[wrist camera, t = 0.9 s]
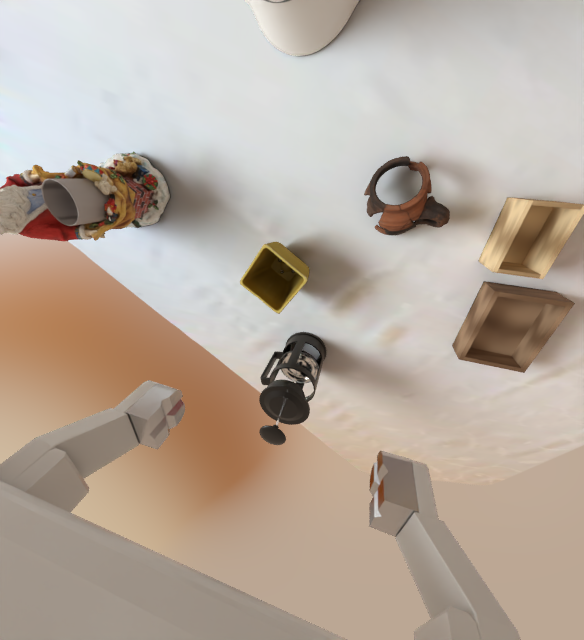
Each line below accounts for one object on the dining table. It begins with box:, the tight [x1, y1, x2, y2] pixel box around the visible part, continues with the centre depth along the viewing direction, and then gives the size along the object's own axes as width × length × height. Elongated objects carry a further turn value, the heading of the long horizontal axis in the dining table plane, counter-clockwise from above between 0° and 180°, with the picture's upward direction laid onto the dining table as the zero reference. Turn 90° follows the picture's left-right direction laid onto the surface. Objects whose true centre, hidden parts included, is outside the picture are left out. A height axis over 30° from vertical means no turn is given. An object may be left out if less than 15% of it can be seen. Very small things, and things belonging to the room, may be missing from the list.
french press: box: [260, 332, 326, 445], centre depth 47 cm, size 12×9×23 cm
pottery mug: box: [364, 156, 450, 235], centre depth 35 cm, size 12×10×8 cm
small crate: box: [479, 198, 584, 279], centre depth 34 cm, size 9×6×6 cm, turn 175°
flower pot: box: [240, 242, 309, 314], centre depth 44 cm, size 9×9×9 cm
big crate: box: [452, 282, 575, 373], centre depth 40 cm, size 13×10×4 cm
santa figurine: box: [0, 152, 170, 241], centre depth 39 cm, size 17×14×25 cm
